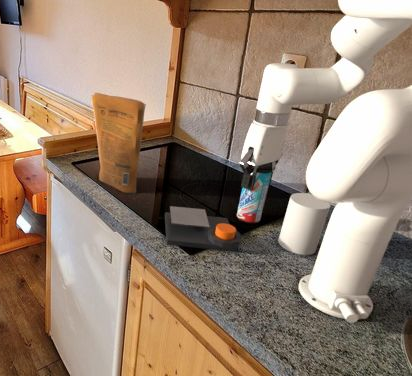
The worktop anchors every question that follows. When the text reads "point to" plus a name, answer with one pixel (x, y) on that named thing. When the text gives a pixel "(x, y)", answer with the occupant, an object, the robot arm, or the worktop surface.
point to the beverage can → (254, 196)
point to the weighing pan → (189, 217)
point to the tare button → (225, 231)
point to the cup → (303, 223)
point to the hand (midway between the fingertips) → (255, 185)
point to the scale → (200, 235)
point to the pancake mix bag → (118, 139)
